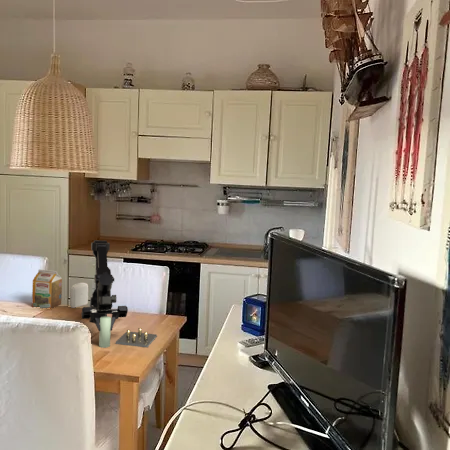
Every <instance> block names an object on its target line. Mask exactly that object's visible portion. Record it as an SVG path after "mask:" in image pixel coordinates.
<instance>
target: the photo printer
mask: <svg viewBox="0 0 450 450" xmlns="http://www.w3.org/2000/svg"><path fill="white" fill-rule="evenodd" d="M69 289H70V290H69V293H70V295H69V307H70V308H73V309H75V308H78V307H81V306H86V305H88V303H89V284H88V283H87V282H76V283H74V284H72V285H71V286H70V288H69Z"/></svg>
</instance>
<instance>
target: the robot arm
mask: <svg viewBox="0 0 450 450" xmlns="http://www.w3.org/2000/svg"><path fill="white" fill-rule="evenodd" d="M90 246H91V247H90V248H91V251H92V255H93V257H94V259H95V274H94V276H93V277H94V281H93V282H94V283H95V289H94V290H93V292H92V294H91V297H90V300H89V306H83V307H82V308H81V319H82V320H85V319H87V320H89V323H94V325H95V326H96V328H97V330H98V332H100V317H103V316H108V315H111V332H112V331H113V327H114V325H115V322H116V320H119V318H126V317H127V316H128V312H129V310H128V306H126V305H118V306H117V308H114V309H113V303H114V304H116V303H117V294H112V293H111V290H112V286H113V283H114V282H115V278H114V275H113V274H112V272H111V269H110V267H109V266H108V253H109V251H110V250H111V249H110V246H111V245H110V242H108V240H97V239H95V240H93V242H91V244H90Z"/></svg>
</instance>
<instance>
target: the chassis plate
mask: <svg viewBox="0 0 450 450" xmlns="http://www.w3.org/2000/svg"><path fill="white" fill-rule="evenodd" d="M137 331H138V332H136V331H131V330H130V329H126V331H125V333H123V334H122V335H121V336H120V337H119V338H118V339H117V340H115V344H116V345H123V346H130V347H131V346H132V347H138V348H139V347H142V348H148V347H149V346H150V345H151V344H152V342H154V340H155V339H156V338H157V337H158V335H157V334H155V333H149V332H148V331H144V332H143V330H142V328H141V327H138V329H137Z"/></svg>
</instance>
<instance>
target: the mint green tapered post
mask: <svg viewBox="0 0 450 450" xmlns="http://www.w3.org/2000/svg"><path fill="white" fill-rule="evenodd" d="M111 318H112V316H108V315H107V316H103V317H100V323H99V324H100V331H99V332H98V333H99V334H98V335H99V337H98V347H99V348H101V349H102V348H103V349H104V348H110V346H111V332H112V331H111Z"/></svg>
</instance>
